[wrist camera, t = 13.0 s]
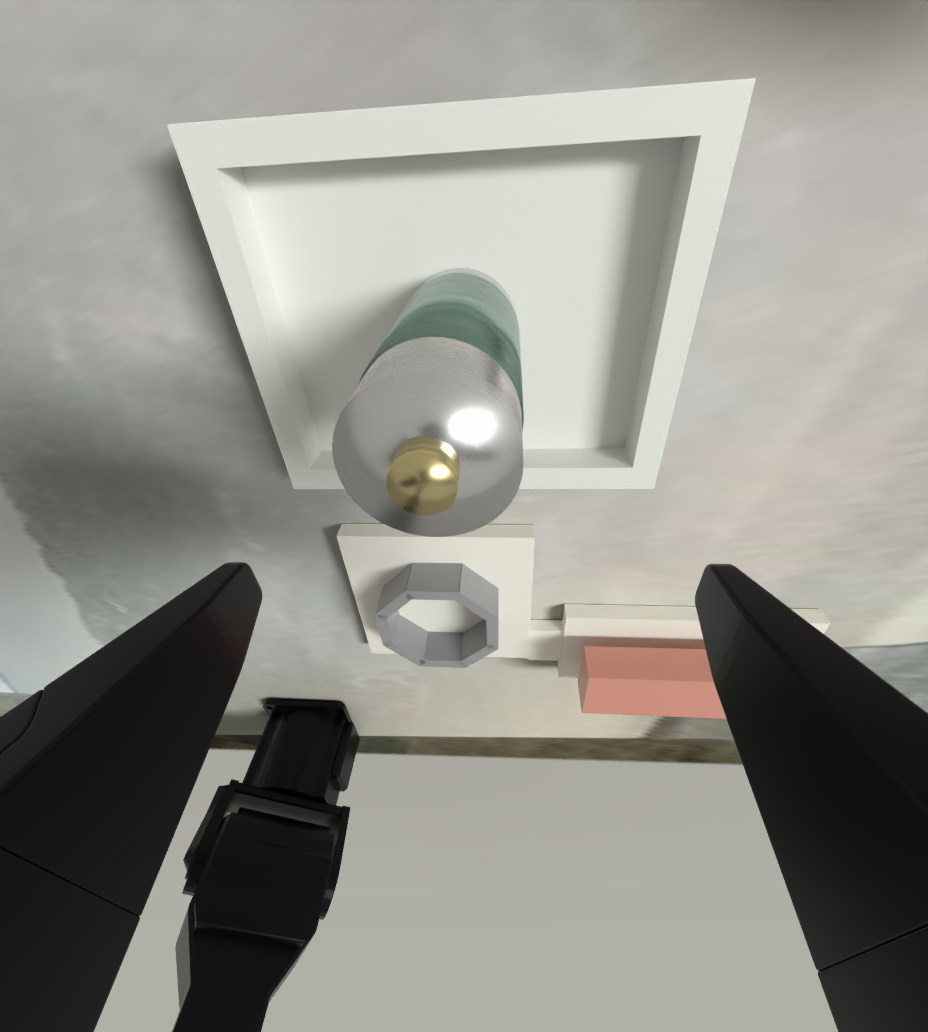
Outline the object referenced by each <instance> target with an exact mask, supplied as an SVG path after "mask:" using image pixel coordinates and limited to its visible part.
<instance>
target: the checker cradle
mask: <svg viewBox="0 0 928 1032" xmlns="http://www.w3.org/2000/svg"><path fill="white" fill-rule="evenodd" d="M336 537H337V540H338V544H339V547H340V550H341V554H342V557H343V560H344V563H345V567H346V570H347V573H348V577H349V580H350V583H351V587H352V590H353V593H354V597H355V600H356V603H357V607H358V610H359V613H360V617H361V620H362V623H363V626H364V630H365V633H366V636H367V640H368V643H369V646H370V650H371V653H383V654H399V655H401V656H403V657H404V658H406V659H408V660H410V661H412V662H413V663H415V664H417V665H419V666H429V667H459V668H465V667H468V666H470V665H471V664H473V663H475V662H477V661H478V660H480V659H482V658H484V657H511V658H528V660H546V661H557V668H558V677H568V678H579V672H580V667H581V661H582V655H583V650H584V646H603V647H638V648H673V649H705V644H704V640H703V636H702V631H701V627H700V623H699V618H698V614H697V610H696V607H690V606H641V605H593V604H564V612H563V620H530V617H531V599H532V581H533V563H534V545H535V532H534V525H496V524H487V525H485V526H483V527H481V528H479V529H476V530H474V531H471V532H468V533H465V534H460V535H456V536H448V537H426V536H419V535H413V534H409V533H405V532H402V531H399V530H397V529H394V528H391V527H389V526H387V525H385V524H341V527H340V529H339V531H338V534H337V536H336ZM792 610H793V611H794V612H795V613H797V614H798V615H799V616H801V617H802V618H803V619H805V620H806V621H807V622H809V623H810V624H811V625H813V626H814V627H815V628H817V629H818V630H819V631H820V632H822V633H823V634H824V632H825V631H826V629H827V628H828V626H829V625H830V622H829V621H828V619H827V618H826V616H825V615H824V614H823V612H822V611H821V609H792Z"/></svg>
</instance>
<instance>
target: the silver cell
mask: <svg viewBox="0 0 928 1032" xmlns="http://www.w3.org/2000/svg"><path fill="white" fill-rule="evenodd" d="M523 423H524V412H523V391H522V371H521V352H520V332H519V324H518V320H517V315H516V311H515V307H514V305H513V302H512V300H511V298H510V296H509V295H508V293H507V292H506V290H505V289H504V288H503V287H502V286H501V285H500V284H499V283H498V282H497V281H496V280H495V279H493V278H492V277H490V276H489V275H487V274H485V273H483V272H480V271H478V270H475V269H469V268H452V269H448V270H444V271H441V272H439V273H437V274H435V275H433V276H432V277H430V278H429V279H428V280H427V281H425V282H424V283H423V284H422V285H421V286H420V288H419V289H418V290H417V291H416V292H415V293H414V294H413V295H412V297H411V298H410V300H409V301H408V303H407V304H406V306H405V308H404V309H403V311H402V312H401V314H400V316H399V317H398V319H397V320H396V322H395V323H394V325H393V327H392V328H391V330H390V331H389V333H388V334H387V336H386V338H385V339H384V341H383V342H382V344H381V345H380V347H379V349H378V350H377V352H376V353H375V355H374V357H373V358H372V360H371V361H370V363H369V364H368V366H367V368H366V369H365V371H364V373H363V375H362V377H361V379H360V381H359V384H358V386H357V388H356V390H355V391H354V393H353V394H352V396H351V398H350V399H349V401H348V402H347V404H346V406H345V407H344V409H343V410H342V412H341V414H340V416H339V418H338V420H337V422H336V426H335V429H334V433H333V441H332V455H333V460H334V465H335V468H336V471H337V474H338V477H339V479H340V481H341V483H342V485H343V486H344V488H345V489H346V491H347V493H348V494H349V495H350V496H351V498H352V499H353V500H354V501H355V502H356V503H357V504H358V505H359V506H360V507H361V508H362V509H363V510H364V511H365V512H367V513H368V514H369V515H371V516H372V517H373V518H375V519H376V520H378V521H380V522H381V523H383V524H385V525H387V526H389V527H391V528H394V529H397V530H399V531H402V532H405V533H409V534H413V535H419V536H426V537H448V536H456V535H460V534H465V533H468V532H471V531H474V530H476V529H479V528H481V527H483V526H485V525H487V524H488V523H490V522H491V521H493V520H494V519H496V518H497V517H498V516H499V515H500V514H501V513H502V512H503V511H504V510H505V509H506V508H507V507H508V506H509V505H510V503H511V502H512V500H513V498H514V497H515V495H516V493H517V491H518V489H519V486H520V483H521V479H522V475H523V467H524V464H523V439H522V431H523Z"/></svg>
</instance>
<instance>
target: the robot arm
mask: <svg viewBox="0 0 928 1032" xmlns="http://www.w3.org/2000/svg"><path fill="white" fill-rule="evenodd" d="M261 601H262V591H261V588H260V586H259V584H258V581H257V579H256V577H255V575H254V573H253V571H252V569H251V567H250V566H249V565H248V564H247V563H243V562H229V563H225V564H223V565H222V566H220V567H219V568H217V569H216V570H215V571H213V572H212V573H210V574H209V575H207V576H206V577H204V578H203V579H201V580H200V581H199V582H197V583H196V584H194V585H193V586H191V587H190V588H188V589H187V590H185V591H184V592H183V593H181V594H180V595H178V596H177V597H175V598H174V599H172V600H171V601H169V602H168V603H166V604H165V605H164V606H162V607H161V608H159V609H158V610H156V611H155V612H153V613H152V614H150V615H149V616H148V617H146V618H145V619H143V620H142V621H140V622H139V623H137V624H136V625H134V626H133V627H131V628H130V629H129V630H127V631H126V632H124V633H123V634H121V635H120V636H118V637H117V638H115V639H114V640H112V641H111V642H110V643H108V644H107V645H105V646H104V647H102V648H101V649H99V650H98V651H96V652H95V653H94V654H92V655H91V656H89V657H88V658H86V659H85V660H83V661H82V662H80V663H79V664H77V665H76V666H75V667H73V668H72V669H70V670H69V671H67V672H66V673H64V674H63V675H61V676H60V677H58V678H57V679H56V680H54V681H53V682H51V683H50V684H48V685H47V686H46V687H45V688H44V690H40V691H38V692H36V693H35V694H34V695H32V696H31V697H29V698H28V699H26V700H25V701H23V702H22V703H21V704H19V705H18V706H16V707H15V708H13V709H12V710H10V711H9V712H7V713H6V714H4V715H3V716H1V717H0V1032H94V1030H95V1027H96V1025H97V1022H98V1020H99V1017H100V1015H101V1013H102V1010H103V1008H104V1005H105V1003H106V1000H107V998H108V996H109V993H110V990H111V988H112V986H113V983H114V981H115V978H116V976H117V973H118V971H119V969H120V966H121V964H122V961H123V959H124V956H125V954H126V952H127V949H128V947H129V944H130V942H131V939H132V937H133V934H134V932H135V930H136V927H137V925H138V922H139V920H140V917H139V916H140V915H141V914H142V912H143V909H144V907H145V904H146V902H147V899H148V897H149V895H150V892H151V890H152V887H153V885H154V882H155V880H156V877H157V875H158V873H159V870H160V867H161V865H162V863H163V860H164V858H165V855H166V853H167V851H168V848H169V846H170V843H171V841H172V838H173V836H174V833H175V831H176V829H177V826H178V824H179V821H180V819H181V816H182V814H183V811H184V809H185V806H186V804H187V802H188V799H189V797H190V794H191V792H192V789H193V787H194V785H195V782H196V780H197V777H198V775H199V772H200V770H201V767H202V765H203V763H204V760H205V758H206V755H207V753H208V750H209V748H210V745H211V743H212V741H213V738H214V736H215V733H216V731H217V728H218V726H219V723H220V721H221V719H222V716H223V714H224V711H225V709H226V706H227V704H228V701H229V699H230V697H231V694H232V692H233V689H234V687H235V684H236V682H237V679H238V677H239V674H240V672H241V669H242V666H243V663H244V660H245V657H246V653H247V650H248V647H249V643H250V640H251V636H252V633H253V629H254V626H255V622H256V619H257V615H258V612H259V608H260V605H261ZM695 605H696V610H697V614H698V618H699V623H700V627H701V631H702V636H703V640H704V644H705V649H706V653H707V657H708V662H709V666H710V670H711V674H712V678H713V681H714V684H715V687H716V690H717V693H718V696H719V699H720V702H721V705H722V707H723V710H724V713H725V716H726V719H727V721H728V724H729V727H730V730H731V732H732V735H733V738H734V741H735V744H736V746H737V749H738V752H739V755H740V758H741V760H742V763H743V766H744V769H745V772H746V774H747V777H748V780H749V783H750V786H751V788H752V791H753V794H754V797H755V799H756V802H757V805H758V808H759V810H760V813H761V816H762V819H763V822H764V824H765V827H766V830H767V833H768V836H769V838H770V841H771V844H772V847H773V850H774V852H775V855H776V858H777V860H778V864H779V866H780V869H781V872H782V875H783V877H784V880H785V883H786V886H787V889H788V891H789V894H790V897H791V900H792V903H793V906H794V908H795V911H796V914H797V917H798V919H799V922H800V925H801V928H802V931H803V933H804V936H805V939H806V942H807V945H808V947H809V950H810V953H811V956H812V959H813V961H814V964H815V967H816V969H817V970H818V971H819V972H818V976H819V979H820V982H821V985H822V987H823V990H824V993H825V996H826V998H827V1001H828V1004H829V1007H830V1010H831V1013H832V1015H833V1018H834V1021H835V1024H836V1026H837V1029H838V1032H928V713H927V712H926V711H924V710H923V709H922V708H920V707H919V706H918V705H916V704H915V703H914V702H912V701H911V700H910V699H909V698H907V697H906V696H905V695H903V694H902V693H901V692H899V691H898V690H897V689H895V688H894V687H893V686H891V685H890V684H889V683H888V682H886V681H885V680H884V679H882V678H881V677H880V676H878V675H877V674H876V673H874V672H873V671H872V670H870V669H869V668H868V667H866V666H865V665H864V664H863V663H861V662H860V661H859V660H857V659H856V658H855V657H853V656H852V655H851V654H849V653H848V652H847V651H845V650H844V649H843V648H841V647H840V646H839V645H838V644H836V643H835V642H834V641H832V640H831V639H830V638H828V637H827V636H826V635H824V634H823V633H822V632H820V631H819V630H818V629H817V628H815V627H814V626H813V625H811V624H810V623H809V622H807V621H806V620H805V619H803V618H802V617H801V616H799V615H798V614H797V613H795V612H794V611H793V610H792V609H790V608H789V607H788V606H786V605H785V604H784V603H782V602H781V601H780V600H778V599H777V598H776V597H774V596H773V595H772V594H770V593H769V592H768V591H767V590H765V589H764V588H763V587H761V586H760V585H759V584H757V583H756V582H755V581H753V580H752V579H751V578H749V577H748V576H747V575H745V574H744V573H743V572H742V571H740V570H739V569H738V568H736V567H735V566H733V565H731V564H709V565H707V566H706V568H705V569H704V572H703V575H702V577H701V580H700V583H699V586H698V588H697V591H696V595H695ZM263 708H264V709H265V711H266V712H267V714H268V716H269V720H268V722H267V725H266V727H265V730H264V732H263V734H262V737H261V739H260V742H259V744H258V746H257V749H256V751H255V754H254V756H253V759H252V761H251V763H250V766H249V768H248V771H247V773H246V776H245V778H244V780H243V783H239V781H237V780H231V782H230V784H229V785H226V786H219V787H218V789H217V792H216V794H215V796H214V798H213V800H212V802H211V805H210V807H209V809H208V811H207V813H206V815H205V817H204V819H203V821H202V823H201V825H200V827H199V829H198V831H197V833H196V835H195V837H194V839H193V841H192V843H191V845H190V847H189V849H188V851H187V853H186V855H185V857H184V860H183V861H184V864H185V867H186V869H187V874H186V876H185V879H187V881H186V884H185V887H184V889H183V893H182V894H187V895H192V896H193V897H192V900H191V902H190V905H189V908H188V910H187V913H186V916H185V919H184V922H183V925H182V928H181V931H180V934H179V936H178V940H177V943H176V962H177V976H178V991H179V1006H180V1012H179V1014H178V1017H177V1020H176V1022H175V1025H174V1028H173V1030H172V1032H261V1029H262V1025H263V1022H264V1018H265V1014H266V1010H267V1007H268V1003H269V1001H270V1000H271V999H272V997H273V996H274V995H275V993H276V992H277V990H278V989H279V988H280V986H281V985H282V983H283V982H284V981H285V979H286V978H287V976H288V975H289V974H290V972H291V971H292V969H293V968H294V967H295V965H296V963H297V962H298V960H299V958H300V957H301V955H302V953H303V952H304V950H305V949H306V947H307V945H308V943H309V942H310V940H311V938H312V937H313V935H314V934H315V932H316V929H317V926H318V922H319V919H324V917H325V916H326V914H327V911H328V909H329V906H330V903H331V900H332V898H333V894H334V891H335V887H336V884H337V879H338V875H339V870H340V864H341V859H342V852H343V847H344V841H345V836H346V830H347V824H348V818H349V812H350V807H346V806H343V807H340V806H336V803H337V799H338V795H339V792H340V791H345V790H346V789H347V787H348V783H349V779H350V775H351V771H352V767H353V763H354V759H355V755H356V751H357V747H358V745H359V741H360V740H359V736H358V733H357V731H356V728H355V726H354V724H353V722H352V720H351V718H350V715H349V713H348V710H347V708H346V706H345V705H344V704H343V703H339V702H317V701H292V700H266V701H265V703H264V705H263ZM228 812H229V813H230V814H229V815H228Z"/></svg>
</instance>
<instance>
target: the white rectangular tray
mask: <svg viewBox="0 0 928 1032" xmlns="http://www.w3.org/2000/svg"><path fill="white" fill-rule="evenodd" d="M755 80H756V78H751V79H738V80H726V81H713V82H700V83H688V84H675V85H662V86H649V87H637V88H624V89H611V90H598V91H586V92H573V93H560V94H548V95H535V96H522V97H509V98H497V99H484V100H471V101H458V102H446V103H433V104H420V105H408V106H395V107H382V108H369V109H357V110H344V111H331V112H318V113H306V114H293V115H280V116H268V117H255V118H242V119H229V120H217V121H204V122H191V123H178V124H167V126H168V129H169V132H170V135H171V138H172V141H173V143H174V146H175V149H176V152H177V155H178V158H179V161H180V164H181V166H182V169H183V172H184V175H185V178H186V181H187V184H188V187H189V189H190V192H191V195H192V198H193V201H194V204H195V207H196V209H197V212H198V215H199V218H200V221H201V224H202V227H203V230H204V232H205V235H206V238H207V241H208V244H209V247H210V250H211V253H212V255H213V258H214V261H215V264H216V267H217V270H218V273H219V276H220V278H221V281H222V284H223V287H224V290H225V293H226V296H227V299H228V301H229V304H230V307H231V310H232V313H233V316H234V319H235V321H236V324H237V327H238V330H239V333H240V336H241V339H242V342H243V344H244V347H245V350H246V353H247V356H248V359H249V362H250V365H251V367H252V370H253V373H254V376H255V379H256V382H257V385H258V388H259V390H260V393H261V396H262V399H263V402H264V405H265V408H266V411H267V413H268V416H269V419H270V422H271V425H272V428H273V431H274V434H275V436H276V439H277V442H278V445H279V448H280V451H281V454H282V456H283V459H284V462H285V465H286V468H287V471H288V474H289V477H290V479H291V482H292V485H293V488H294V489H345V488H344V486H343V485H342V483H341V481H340V479H339V477H338V474H337V471H336V468H335V465H334V460H333V455H332V441H333V433H334V429H335V426H336V422H337V420H338V418H339V416H340V414H341V412H342V410H343V409H344V407H345V406H346V404H347V402H348V401H349V399H350V398H351V396H352V394H353V393H354V391H355V390H356V388H357V386H358V384H359V381H360V379H361V377H362V375H363V373H364V371H365V369H366V368H367V366H368V364H369V363H370V361H371V360H372V358H373V357H374V355H375V353H376V352H377V350H378V349H379V347H380V345H381V344H382V342H383V341H384V339H385V338H386V336H387V334H388V333H389V331H390V330H391V328H392V327H393V325H394V323H395V322H396V320H397V319H398V317H399V316H400V314H401V312H402V311H403V309H404V308H405V306H406V304H407V303H408V301H409V300H410V298H411V297H412V295H413V294H414V293H415V292H416V291H417V290H418V289H419V288H420V286H421V285H422V284H423V283H424V282H425V281H427V280H428V279H429V278H430V277H432V276H433V275H435V274H437V273H439V272H441V271H444V270H448V269H452V268H469V269H475V270H478V271H480V272H483V273H485V274H487V275H489V276H490V277H492V278H493V279H495V280H496V281H497V282H498V283H499V284H500V285H501V286H502V287H503V288H504V289H505V290H506V292H507V293H508V295H509V296H510V298H511V300H512V302H513V305H514V307H515V311H516V315H517V320H518V324H519V332H520V352H521V371H522V391H523V412H524V423H523V431H522V439H523V464H524V467H523V475H522V479H521V483H520V486H519V489H654V487H655V483H656V479H657V475H658V471H659V467H660V463H661V459H662V455H663V451H664V447H665V443H666V439H667V435H668V431H669V427H670V423H671V418H672V414H673V410H674V406H675V402H676V398H677V394H678V390H679V386H680V382H681V378H682V374H683V370H684V366H685V362H686V358H687V354H688V350H689V346H690V342H691V338H692V334H693V330H694V326H695V322H696V318H697V314H698V310H699V306H700V302H701V297H702V293H703V289H704V285H705V281H706V277H707V273H708V269H709V265H710V261H711V257H712V253H713V249H714V245H715V241H716V237H717V233H718V229H719V225H720V221H721V217H722V213H723V209H724V205H725V201H726V197H727V193H728V189H729V185H730V181H731V177H732V172H733V168H734V164H735V160H736V156H737V152H738V148H739V144H740V140H741V136H742V132H743V128H744V124H745V120H746V116H747V112H748V108H749V104H750V100H751V96H752V92H753V88H754V84H755Z"/></svg>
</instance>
